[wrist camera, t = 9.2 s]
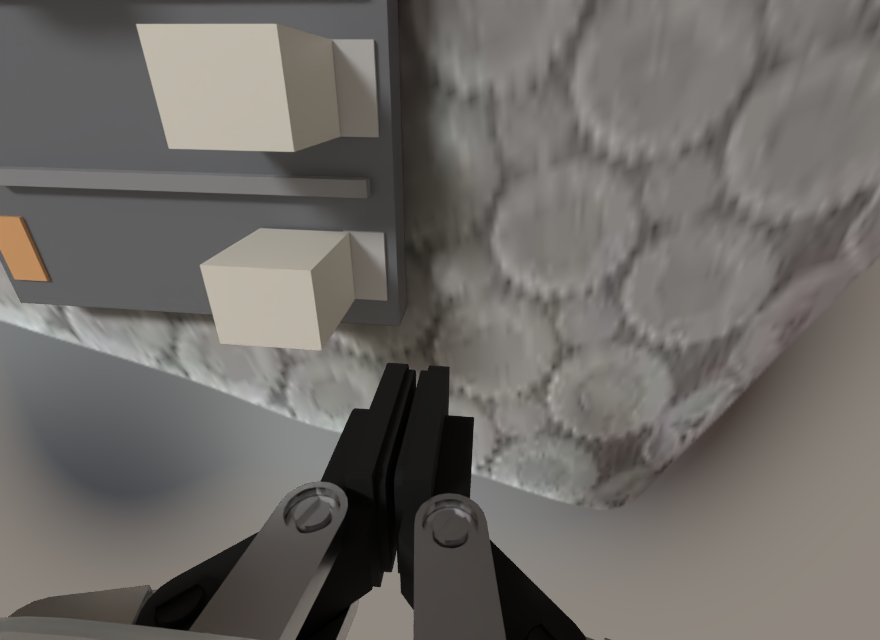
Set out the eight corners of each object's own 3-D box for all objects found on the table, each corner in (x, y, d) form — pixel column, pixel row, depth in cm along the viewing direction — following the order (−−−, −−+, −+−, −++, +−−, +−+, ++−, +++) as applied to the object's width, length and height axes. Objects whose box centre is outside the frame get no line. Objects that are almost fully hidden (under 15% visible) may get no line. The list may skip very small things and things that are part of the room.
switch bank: (389, -281, 13) (368, -356, 11) (406, 307, 23) (396, 332, 21) (-180, -243, 15) (-299, -301, 13) (54, 287, 25) (9, 307, 22)
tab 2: (349, 232, 19) (310, 270, 15) (355, 299, 20) (321, 350, 16) (259, 228, 19) (199, 264, 15) (272, 294, 21) (220, 343, 17)
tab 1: (331, 39, 16) (276, 23, 12) (340, 136, 17) (294, 151, 13) (224, 39, 16) (135, 23, 12) (242, 134, 17) (168, 148, 14)
